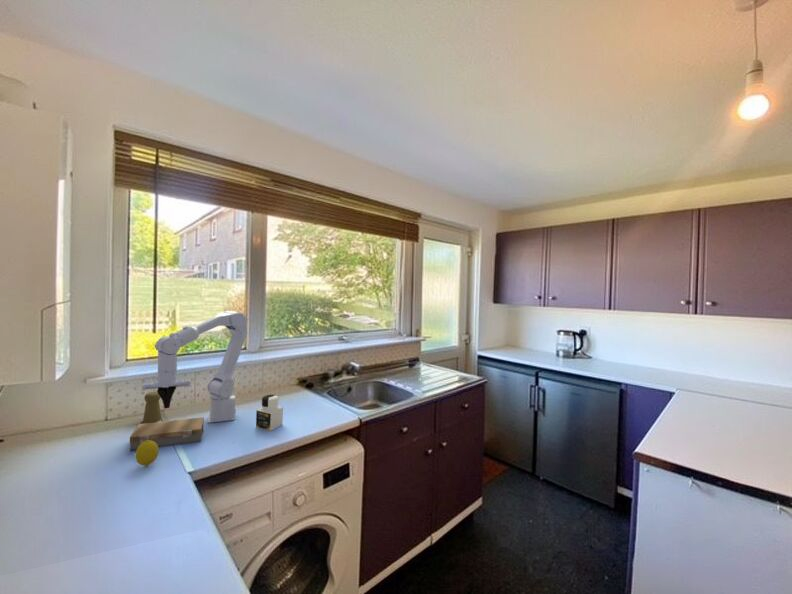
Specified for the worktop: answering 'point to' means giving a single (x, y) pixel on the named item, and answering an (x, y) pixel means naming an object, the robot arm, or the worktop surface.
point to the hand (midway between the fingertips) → (167, 407)
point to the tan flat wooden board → (167, 429)
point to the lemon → (147, 452)
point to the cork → (152, 408)
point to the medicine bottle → (269, 413)
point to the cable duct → (171, 440)
